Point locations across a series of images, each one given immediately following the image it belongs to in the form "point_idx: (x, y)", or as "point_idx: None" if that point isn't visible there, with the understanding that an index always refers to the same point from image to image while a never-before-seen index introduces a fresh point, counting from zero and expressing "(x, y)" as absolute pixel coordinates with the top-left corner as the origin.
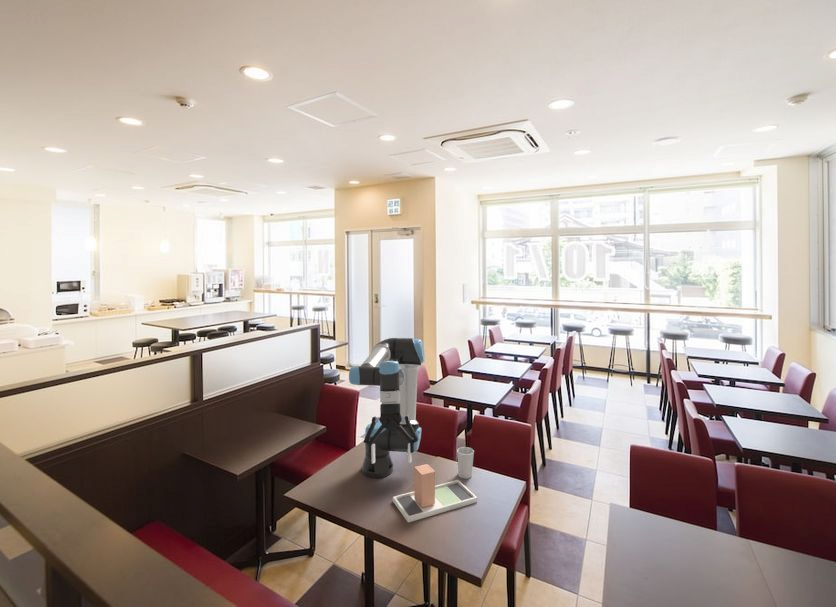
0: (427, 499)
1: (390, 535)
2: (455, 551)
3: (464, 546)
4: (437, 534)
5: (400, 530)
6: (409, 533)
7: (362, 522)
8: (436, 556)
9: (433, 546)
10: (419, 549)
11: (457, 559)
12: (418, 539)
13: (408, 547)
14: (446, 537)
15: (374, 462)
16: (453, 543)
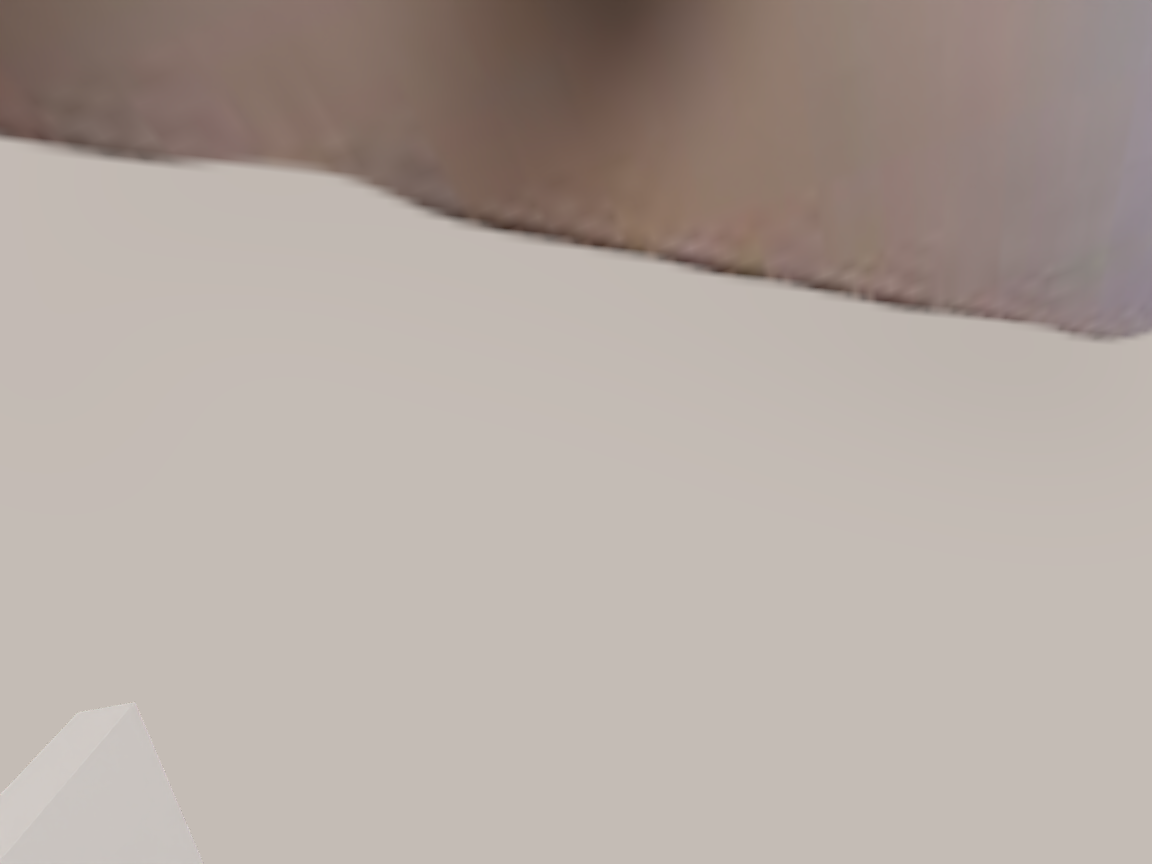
0: None
1: (516, 189)
2: (1059, 186)
3: (1138, 105)
4: (921, 26)
5: (577, 90)
6: (670, 103)
7: (161, 103)
8: (919, 283)
9: (893, 192)
10: (790, 261)
11: (1064, 260)
12: (764, 153)
13: (704, 270)
14: (1000, 40)
15: (166, 794)
16: (1054, 99)
